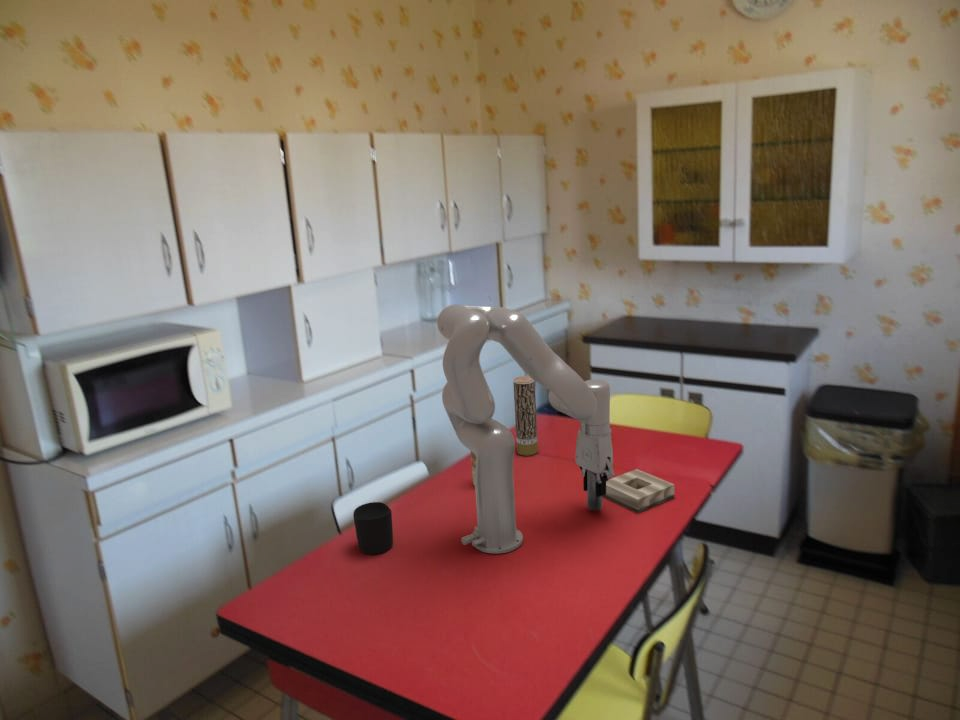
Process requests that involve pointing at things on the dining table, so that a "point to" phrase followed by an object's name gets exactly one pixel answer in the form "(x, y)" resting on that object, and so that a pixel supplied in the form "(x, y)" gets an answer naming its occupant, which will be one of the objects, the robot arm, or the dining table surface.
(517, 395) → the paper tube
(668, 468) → the dining table surface
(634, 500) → the socket block
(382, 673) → the dining table surface
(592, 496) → the steel peg
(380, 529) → the pen holder
